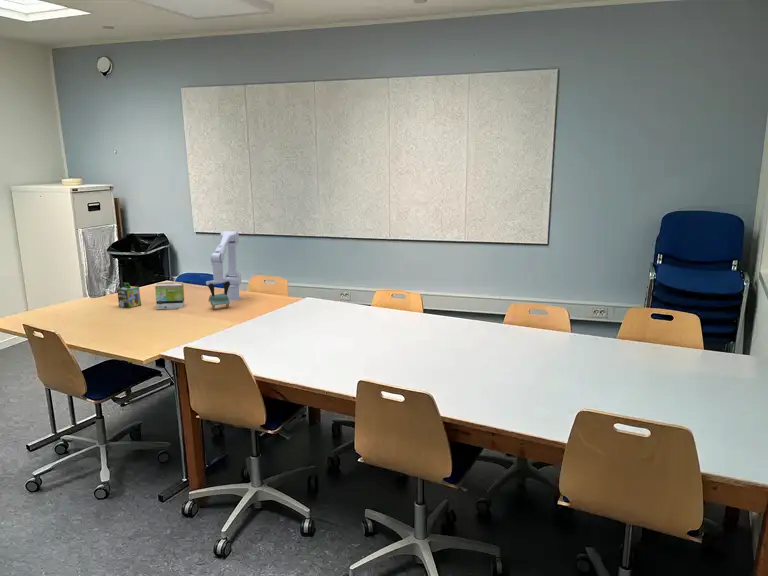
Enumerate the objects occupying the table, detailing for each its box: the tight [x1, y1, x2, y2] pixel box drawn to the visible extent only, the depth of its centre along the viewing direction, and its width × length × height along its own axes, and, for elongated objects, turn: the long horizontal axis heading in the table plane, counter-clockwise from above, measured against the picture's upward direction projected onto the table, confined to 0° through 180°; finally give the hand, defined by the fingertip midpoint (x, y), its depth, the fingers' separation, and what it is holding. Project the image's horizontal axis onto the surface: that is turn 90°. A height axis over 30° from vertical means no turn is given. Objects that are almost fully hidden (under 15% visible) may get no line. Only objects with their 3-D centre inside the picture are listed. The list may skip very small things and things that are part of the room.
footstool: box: [208, 292, 231, 311], centre depth 336 cm, size 7×10×5 cm
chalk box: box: [116, 282, 142, 309], centre depth 341 cm, size 9×9×15 cm
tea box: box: [154, 281, 185, 310], centre depth 339 cm, size 15×10×15 cm, turn 104°
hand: (219, 295), depth 334 cm, fingers open, 7 cm apart
